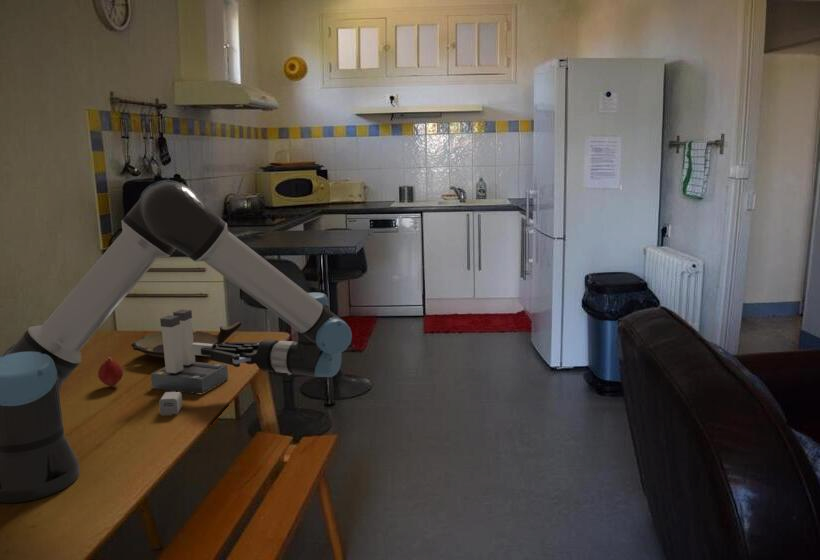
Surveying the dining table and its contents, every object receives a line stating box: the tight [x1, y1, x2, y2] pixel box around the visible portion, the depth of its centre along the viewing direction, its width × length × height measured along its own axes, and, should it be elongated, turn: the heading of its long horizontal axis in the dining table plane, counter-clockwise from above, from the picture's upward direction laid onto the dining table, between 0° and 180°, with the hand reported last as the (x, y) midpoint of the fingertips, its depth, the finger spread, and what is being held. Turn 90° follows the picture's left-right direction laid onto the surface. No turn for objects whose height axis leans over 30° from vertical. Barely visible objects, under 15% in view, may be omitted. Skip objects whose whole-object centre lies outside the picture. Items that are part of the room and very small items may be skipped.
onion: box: [97, 356, 124, 388], centre depth 171 cm, size 6×6×8 cm
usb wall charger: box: [158, 391, 183, 416], centre depth 157 cm, size 4×7×4 cm, turn 6°
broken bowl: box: [130, 321, 242, 359], centre depth 196 cm, size 22×30×8 cm
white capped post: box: [172, 309, 196, 365], centre depth 175 cm, size 3×3×14 cm
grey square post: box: [159, 315, 183, 373], centre depth 169 cm, size 3×3×14 cm
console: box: [150, 361, 229, 395], centre depth 173 cm, size 11×15×4 cm
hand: (193, 348), depth 167 cm, fingers closed
